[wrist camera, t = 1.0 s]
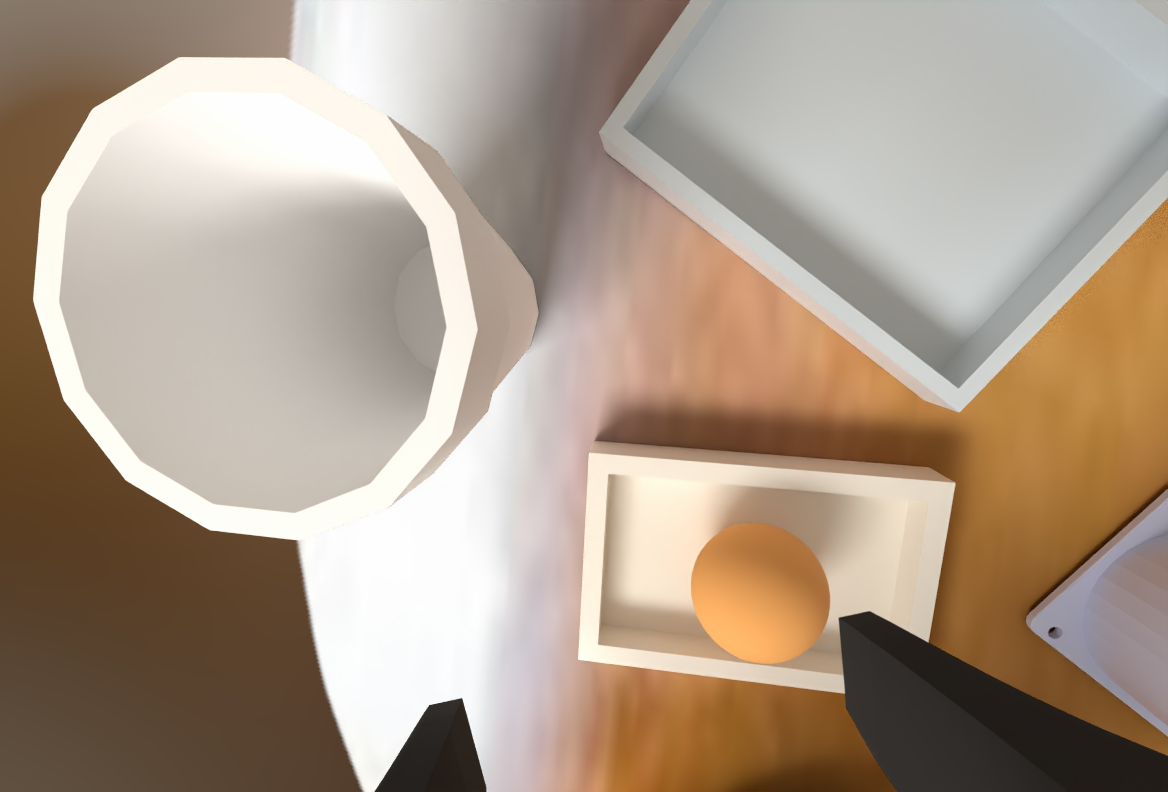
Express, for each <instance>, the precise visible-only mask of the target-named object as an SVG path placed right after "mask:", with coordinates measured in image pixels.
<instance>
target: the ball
mask: <svg viewBox="0 0 1168 792" xmlns="http://www.w3.org/2000/svg"><path fill="white" fill-rule="evenodd" d="M691 596H692V601H693V606H694V609H695V612H696V615H697V617H698V619H699V621H700V623H701V624H702V626H703V628H704V629H705V631H706V632H707V633H708V634H709V636H710V637H711V638H712V639H713V640H714V641H715V642H716V643H717V644H718V645H719V646H720V647H722V648H723V649H724V650H726V651H727V652H729V653H731V654H732V655H734V656H736V657H738V658H741V659H743V660H746V661H750V662H754V663H761V664H774V663H781V662H786V661H788V660H791V659H794V658H796V657H798V656H800V655H801V654H803V653H804V652H806V651H807V650H808V649H809V648H810V647H811V646H813V644H814V643H815V642H816V641H817V640H818V638H819V637H820V635H821V634H822V632H823V630H824V628H825V625H826V623H827V620H828V616H829V610H830V591H829V585H828V581H827V578H826V574H825V572H824V570H823V568H822V566H821V564H820V562H819V560H818V559H817V557H816V556H815V555H814V553H813V552H812V551H811V550H810V549H809V548H808V546H807V545H806V544H804V543H803V542H802V541H801V540H800V539H798V538H797V537H796V536H794V535H793V534H791V533H789V532H788V531H786V530H784V529H781V528H778V527H776V526H772V525H768V524H763V523H744V524H738V525H735V526H732V527H729V528H727V529H724V530H723V531H721V532H719V533H718V534H716V535H715V536H714V537H712V538H711V539H710V540H709V541H708V542H707V543H706V545H705V546H704V547H703V549H702V550H701V551H700V553H699V555H698V557H697V559H696V561H695V564H694V567H693V571H692V576H691Z"/></svg>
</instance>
